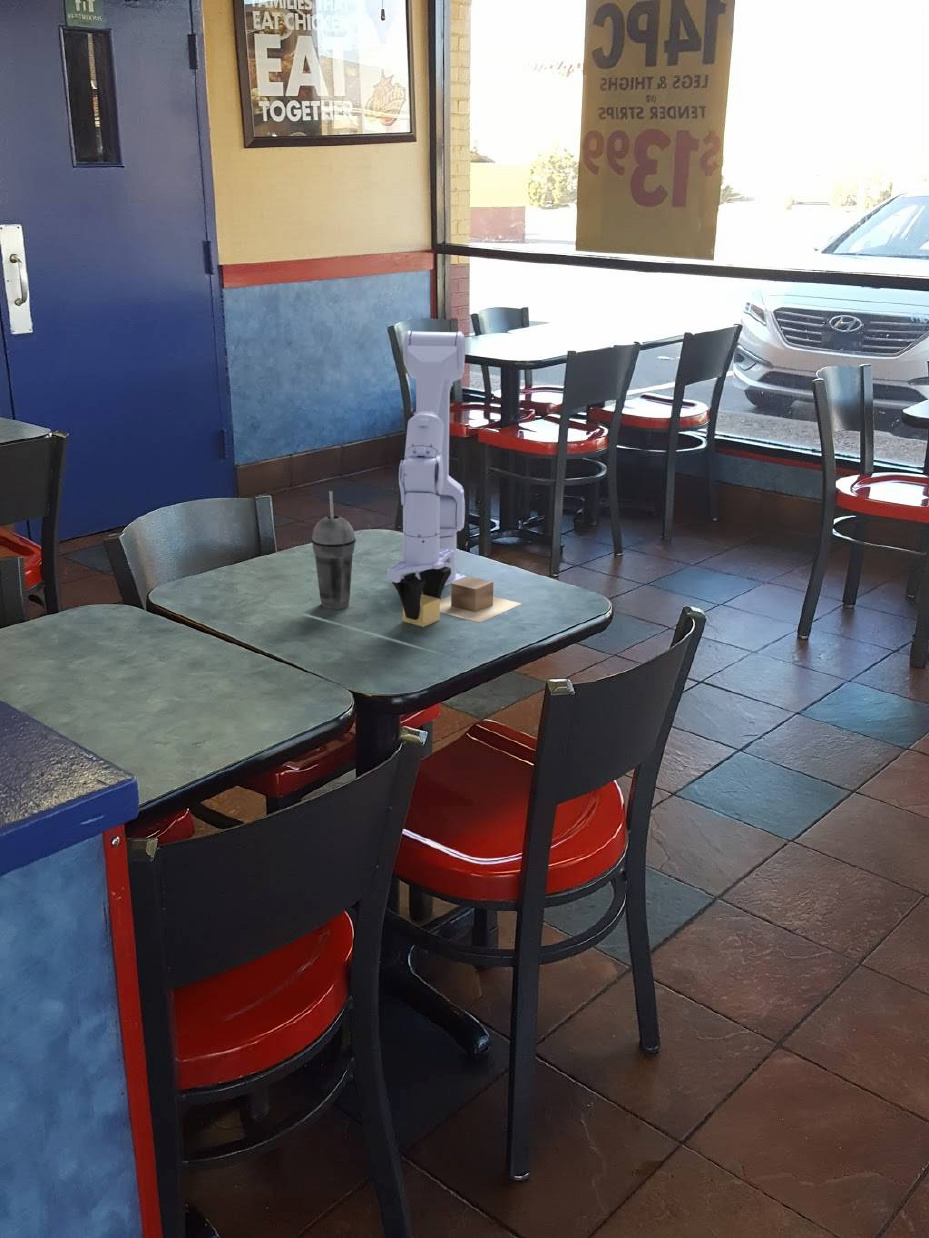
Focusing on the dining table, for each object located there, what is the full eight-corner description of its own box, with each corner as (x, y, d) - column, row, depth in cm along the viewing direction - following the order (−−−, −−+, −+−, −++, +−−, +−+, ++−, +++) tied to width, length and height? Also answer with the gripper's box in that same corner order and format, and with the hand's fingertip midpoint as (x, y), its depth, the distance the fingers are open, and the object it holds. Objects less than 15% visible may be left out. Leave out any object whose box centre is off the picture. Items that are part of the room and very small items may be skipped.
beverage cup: (360, 600, 204) (358, 485, 197) (352, 615, 197) (350, 495, 190) (318, 599, 204) (314, 483, 197) (309, 613, 197) (305, 494, 191)
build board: (421, 609, 200) (421, 607, 200) (464, 591, 209) (464, 589, 209) (479, 624, 193) (479, 622, 193) (522, 605, 202) (522, 603, 202)
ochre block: (403, 623, 193) (402, 599, 192) (419, 616, 196) (419, 593, 195) (423, 629, 191) (423, 605, 190) (439, 622, 194) (439, 598, 193)
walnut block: (451, 606, 200) (451, 583, 199) (469, 598, 204) (469, 576, 203) (475, 612, 197) (475, 589, 196) (492, 604, 201) (493, 581, 200)
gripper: (411, 547, 181) (412, 631, 185) (469, 527, 192) (468, 607, 196) (376, 539, 185) (377, 622, 189) (434, 520, 196) (434, 599, 200)
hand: (421, 614), depth 193 cm, fingers closed on ochre block, 4 cm apart
